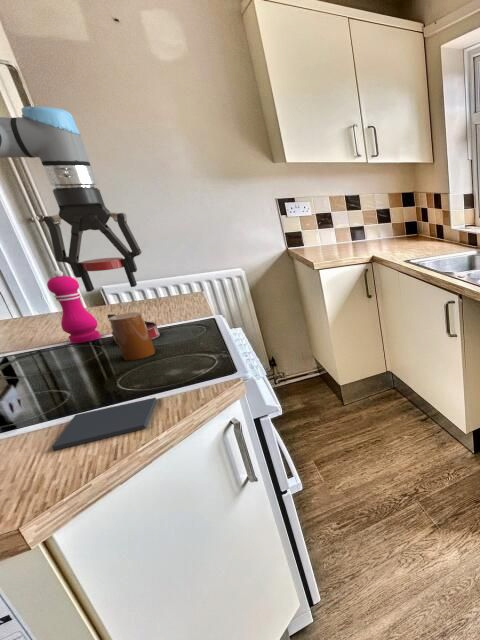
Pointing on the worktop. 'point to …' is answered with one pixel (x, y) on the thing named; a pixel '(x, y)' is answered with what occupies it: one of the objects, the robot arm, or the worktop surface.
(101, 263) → the lid
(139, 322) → the jar
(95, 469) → the worktop surface
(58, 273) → the pepper mill
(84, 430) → the mat
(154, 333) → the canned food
